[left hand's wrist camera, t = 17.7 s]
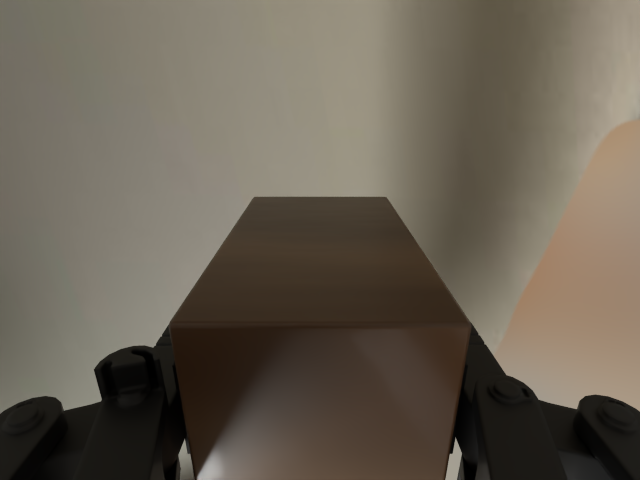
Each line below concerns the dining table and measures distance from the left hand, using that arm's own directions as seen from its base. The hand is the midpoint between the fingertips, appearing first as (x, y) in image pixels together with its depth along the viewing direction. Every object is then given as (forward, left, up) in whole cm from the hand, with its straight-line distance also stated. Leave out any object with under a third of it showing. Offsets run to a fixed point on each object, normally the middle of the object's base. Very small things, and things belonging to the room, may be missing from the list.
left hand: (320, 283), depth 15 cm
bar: (+10, +2, -1) cm, 10 cm away
